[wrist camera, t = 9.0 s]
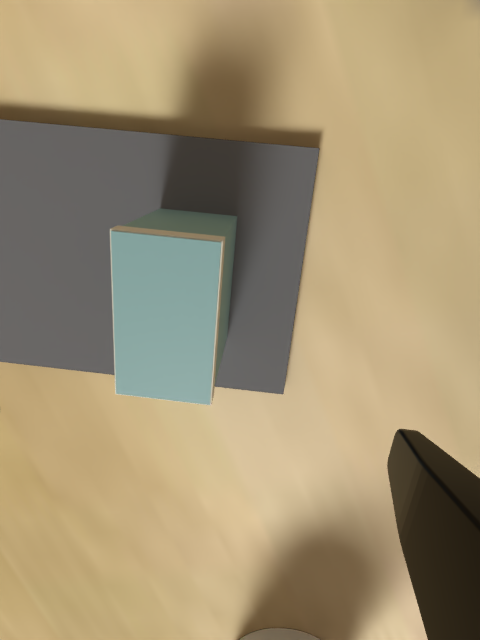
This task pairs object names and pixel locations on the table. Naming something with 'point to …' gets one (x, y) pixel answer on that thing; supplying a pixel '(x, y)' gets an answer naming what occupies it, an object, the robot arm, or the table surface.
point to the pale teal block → (171, 303)
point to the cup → (279, 635)
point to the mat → (128, 205)
